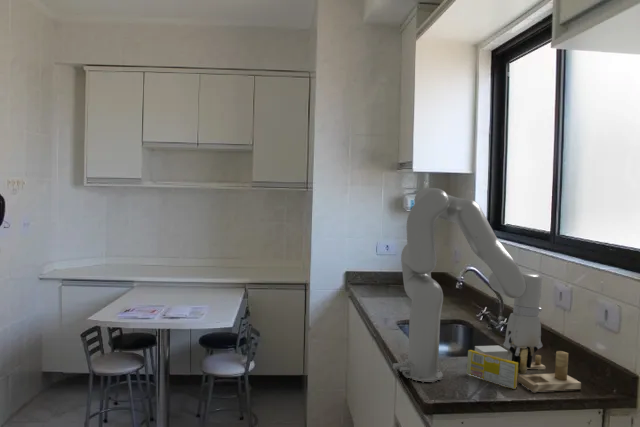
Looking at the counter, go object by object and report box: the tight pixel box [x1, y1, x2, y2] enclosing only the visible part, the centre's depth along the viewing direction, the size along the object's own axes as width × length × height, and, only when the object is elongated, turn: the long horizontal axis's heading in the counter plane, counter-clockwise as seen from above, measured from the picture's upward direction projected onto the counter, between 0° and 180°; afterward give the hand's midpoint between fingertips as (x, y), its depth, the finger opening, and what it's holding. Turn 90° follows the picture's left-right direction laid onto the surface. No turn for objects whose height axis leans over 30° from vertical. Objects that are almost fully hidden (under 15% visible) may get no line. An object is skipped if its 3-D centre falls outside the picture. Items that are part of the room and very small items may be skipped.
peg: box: [518, 347, 528, 375], centre depth 165 cm, size 3×3×8 cm
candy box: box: [466, 349, 519, 388], centre depth 159 cm, size 16×2×8 cm, turn 44°
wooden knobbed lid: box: [527, 354, 546, 370], centre depth 173 cm, size 7×4×4 cm, turn 101°
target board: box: [517, 350, 582, 391], centre depth 156 cm, size 16×8×10 cm, turn 101°
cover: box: [474, 345, 509, 360], centre depth 174 cm, size 9×6×6 cm, turn 101°
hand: (521, 366), depth 165 cm, fingers closed on peg, 3 cm apart
